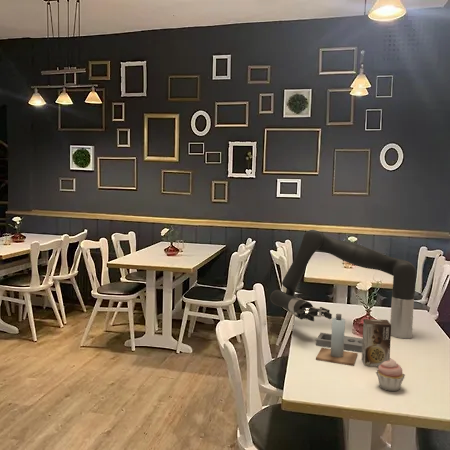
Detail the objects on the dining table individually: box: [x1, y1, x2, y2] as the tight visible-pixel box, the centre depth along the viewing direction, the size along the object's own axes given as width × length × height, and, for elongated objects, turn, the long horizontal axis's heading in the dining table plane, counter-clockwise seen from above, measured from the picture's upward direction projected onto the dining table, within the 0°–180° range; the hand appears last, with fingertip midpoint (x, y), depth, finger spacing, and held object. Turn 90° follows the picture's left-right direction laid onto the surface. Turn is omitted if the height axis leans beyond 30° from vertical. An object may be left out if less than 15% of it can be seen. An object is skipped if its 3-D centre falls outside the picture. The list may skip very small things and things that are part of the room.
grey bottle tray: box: [315, 332, 363, 353], centre depth 197 cm, size 21×10×3 cm, turn 68°
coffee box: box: [361, 318, 392, 367], centre depth 177 cm, size 9×6×16 cm
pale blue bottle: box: [330, 313, 346, 357], centre depth 182 cm, size 5×5×16 cm
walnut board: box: [315, 347, 359, 367], centre depth 183 cm, size 14×12×1 cm
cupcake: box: [375, 357, 406, 392], centre depth 157 cm, size 9×9×10 cm
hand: (322, 317), depth 193 cm, fingers open, 8 cm apart
